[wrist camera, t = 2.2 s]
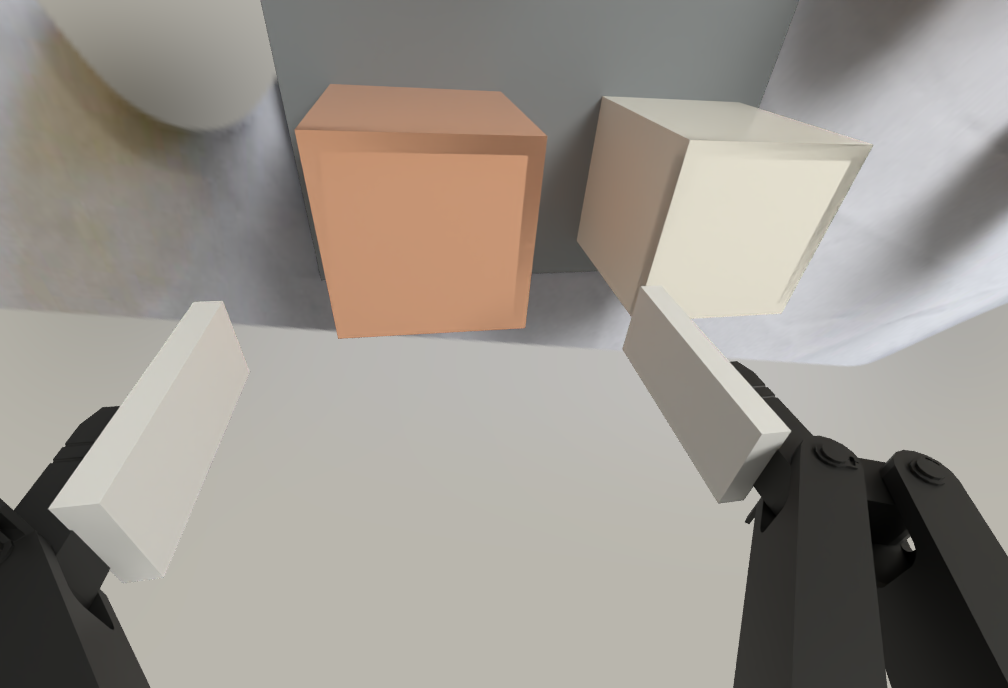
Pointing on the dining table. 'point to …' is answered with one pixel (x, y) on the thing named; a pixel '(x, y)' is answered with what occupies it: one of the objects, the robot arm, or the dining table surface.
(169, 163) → the dining table surface
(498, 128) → the peach colored cube
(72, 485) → the robot arm
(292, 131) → the slate mat
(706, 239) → the cream lidded box
